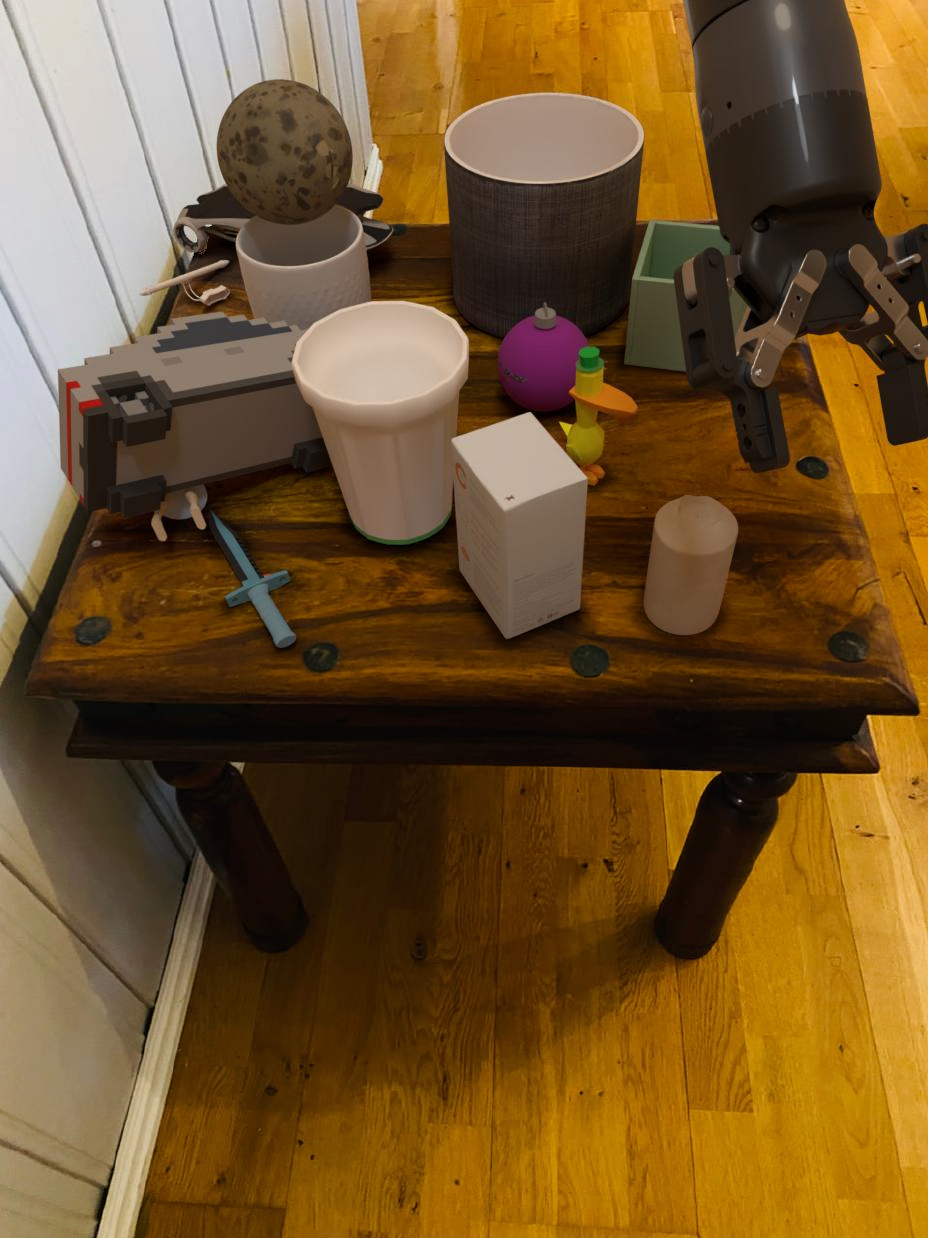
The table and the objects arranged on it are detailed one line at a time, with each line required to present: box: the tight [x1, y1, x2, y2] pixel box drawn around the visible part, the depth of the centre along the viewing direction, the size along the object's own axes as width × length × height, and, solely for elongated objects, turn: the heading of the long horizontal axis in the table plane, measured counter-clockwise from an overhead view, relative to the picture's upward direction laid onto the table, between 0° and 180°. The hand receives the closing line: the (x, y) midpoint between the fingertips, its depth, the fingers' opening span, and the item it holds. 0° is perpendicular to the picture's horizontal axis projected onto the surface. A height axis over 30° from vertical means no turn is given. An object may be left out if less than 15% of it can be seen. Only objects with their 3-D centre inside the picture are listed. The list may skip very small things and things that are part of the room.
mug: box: [235, 205, 372, 330], centre depth 90 cm, size 15×11×13 cm
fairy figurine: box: [150, 484, 208, 542], centre depth 80 cm, size 12×5×12 cm
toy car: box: [57, 311, 333, 520], centre depth 77 cm, size 9×24×10 cm
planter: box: [443, 92, 646, 339], centre depth 94 cm, size 18×18×16 cm
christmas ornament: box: [496, 302, 590, 413], centre depth 85 cm, size 8×8×10 cm
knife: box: [208, 509, 297, 649], centre depth 76 cm, size 17×1×5 cm
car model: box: [172, 183, 394, 254], centre depth 106 cm, size 11×24×5 cm, turn 66°
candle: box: [643, 494, 739, 636], centre depth 69 cm, size 6×6×10 cm
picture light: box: [139, 259, 231, 306], centre depth 101 cm, size 14×4×2 cm, turn 154°
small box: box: [451, 411, 589, 640], centre depth 70 cm, size 8×6×13 cm
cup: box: [291, 300, 470, 546], centre depth 75 cm, size 12×12×15 cm
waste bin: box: [623, 219, 748, 373], centre depth 90 cm, size 10×10×9 cm
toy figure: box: [558, 346, 639, 487], centre depth 77 cm, size 7×4×12 cm, turn 53°
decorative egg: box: [216, 78, 354, 225], centre depth 82 cm, size 11×11×15 cm
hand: (842, 455), depth 49 cm, fingers open, 8 cm apart
